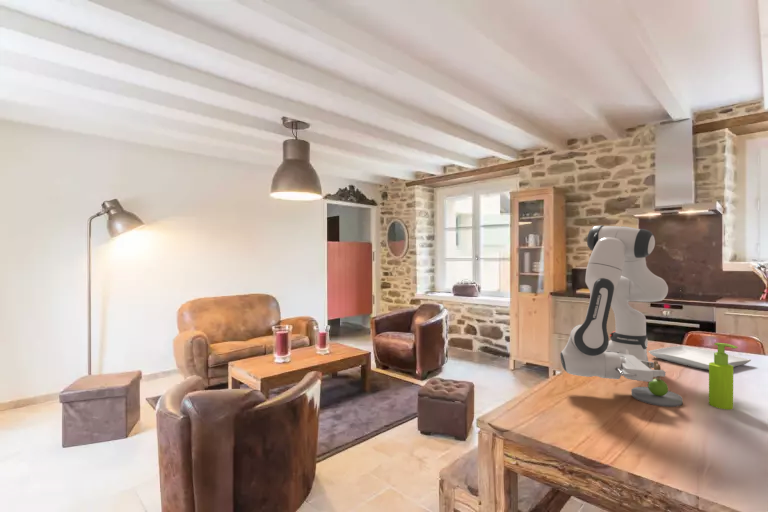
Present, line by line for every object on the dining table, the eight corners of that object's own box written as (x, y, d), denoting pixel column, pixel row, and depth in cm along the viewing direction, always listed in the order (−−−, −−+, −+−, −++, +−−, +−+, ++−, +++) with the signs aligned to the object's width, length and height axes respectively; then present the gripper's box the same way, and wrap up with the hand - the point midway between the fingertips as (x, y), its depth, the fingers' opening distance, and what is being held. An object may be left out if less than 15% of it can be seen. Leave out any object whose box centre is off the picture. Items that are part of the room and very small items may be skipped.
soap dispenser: (732, 412, 120) (732, 346, 119) (705, 404, 126) (705, 342, 125) (740, 408, 122) (741, 344, 122) (714, 401, 128) (714, 340, 128)
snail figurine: (665, 394, 131) (665, 357, 132) (669, 399, 125) (669, 361, 126) (646, 391, 133) (645, 356, 134) (649, 396, 128) (649, 359, 128)
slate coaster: (625, 398, 131) (625, 393, 131) (638, 388, 141) (638, 384, 141) (677, 410, 121) (677, 405, 121) (686, 398, 130) (686, 394, 130)
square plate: (715, 375, 156) (715, 365, 156) (646, 358, 181) (646, 350, 181) (752, 367, 167) (752, 358, 167) (682, 352, 192) (682, 344, 192)
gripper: (620, 364, 125) (671, 368, 121) (605, 349, 144) (648, 352, 140) (620, 384, 125) (671, 388, 121) (605, 366, 144) (648, 369, 140)
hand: (659, 368), depth 130 cm, fingers open, 8 cm apart
